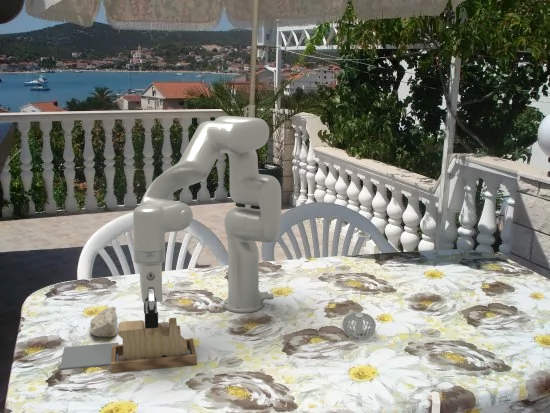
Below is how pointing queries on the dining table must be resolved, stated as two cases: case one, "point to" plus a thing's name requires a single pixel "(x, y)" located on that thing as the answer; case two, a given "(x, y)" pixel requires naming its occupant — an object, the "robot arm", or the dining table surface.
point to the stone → (105, 323)
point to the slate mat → (87, 356)
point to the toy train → (151, 340)
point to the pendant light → (359, 315)
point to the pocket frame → (152, 360)
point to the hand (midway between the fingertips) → (150, 320)
